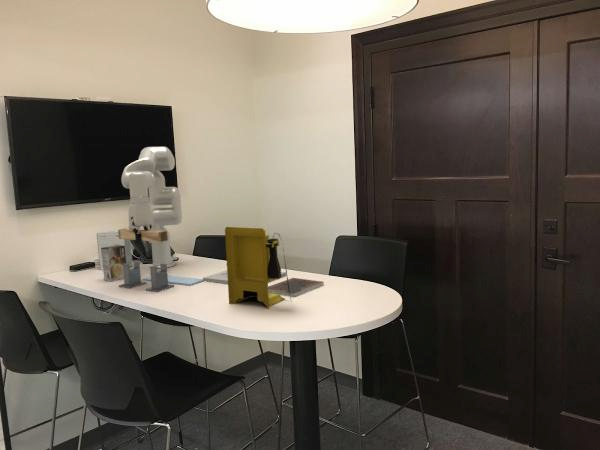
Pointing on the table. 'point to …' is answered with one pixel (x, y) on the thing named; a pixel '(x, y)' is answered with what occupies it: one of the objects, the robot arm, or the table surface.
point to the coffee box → (113, 262)
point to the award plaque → (224, 277)
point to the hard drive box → (113, 239)
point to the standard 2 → (159, 279)
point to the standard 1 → (132, 276)
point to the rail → (144, 235)
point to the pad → (180, 280)
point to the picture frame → (294, 287)
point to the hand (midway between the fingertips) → (142, 241)
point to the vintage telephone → (251, 265)
